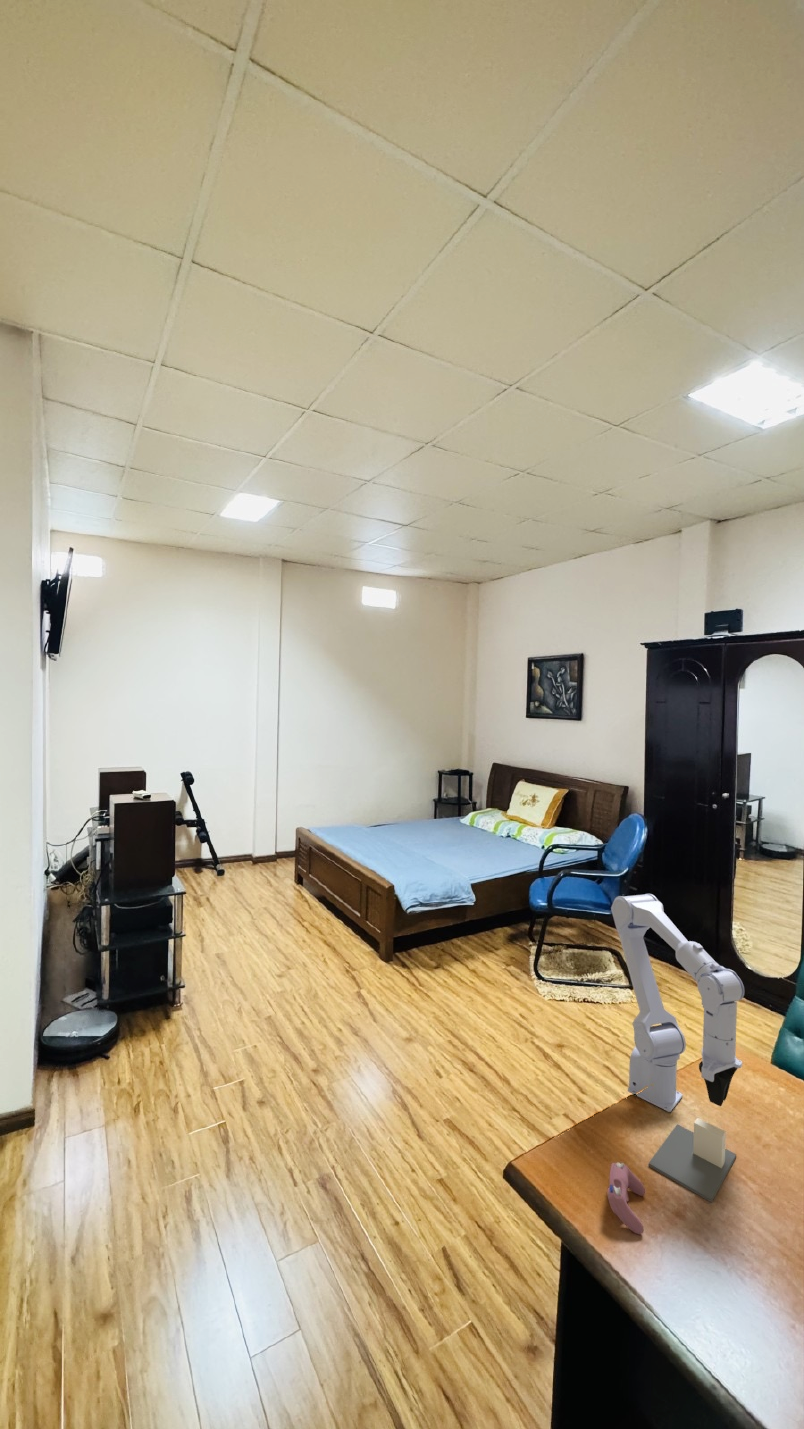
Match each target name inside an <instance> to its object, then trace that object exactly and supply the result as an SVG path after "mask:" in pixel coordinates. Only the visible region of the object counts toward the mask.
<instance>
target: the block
mask: <svg viewBox="0 0 804 1429" xmlns="http://www.w3.org/2000/svg"><path fill="white" fill-rule="evenodd" d="M693 1132H694V1144H693V1153H694V1154H696V1155H698V1156H699V1157H701V1158H703V1159H705V1160H707V1161H709V1162H711V1163H712V1164H714V1165H716V1166H718V1167H720V1168H722V1167H723V1165H724V1163H725V1149H726V1131H725V1130H724V1129H721V1128H719V1127H717V1126H715V1125H713V1124H712V1123H709V1122H707V1121H705V1120H704V1119H701V1118H699V1117H697V1118H696V1119H695V1120H694V1122H693Z"/></svg>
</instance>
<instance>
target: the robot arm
mask: <svg viewBox="0 0 804 1429" xmlns="http://www.w3.org/2000/svg"><path fill="white" fill-rule="evenodd" d="M610 909H611V910H610V911H611V913H612V917H613V921H614V925H615V928H616V931H617V934H618V937H619V941H620V944H621V948H622V951H623V956H624V959H625V962H626V966H627V969H628V973H629V977H630V981H631V984H632V988H633V991H634V996H635V999H636V1003H637V1006H638V1010H639V1013H638V1014H637V1015H636V1017H635V1018H634V1019H633V1021H632V1027H633V1031H634V1035H633V1038H634V1040H633V1041H634V1045H635V1046H634V1047H633V1050H632V1051H631V1054H630V1057H629V1067H628V1068H629V1070H628V1071H629V1072H628V1074H629V1076H628V1087H627V1092H628V1093H630V1094H632V1095H634V1094H636V1093H637V1092H639V1091H640V1090H642V1089H644V1088H645V1087H648V1088H646V1089H644V1090H643V1091H642V1092H640V1093H638V1094H636V1095H637V1096H636V1095H635V1096H636V1097H638V1098H640V1099H642V1100H644V1101H645V1102H648V1103H650V1104H652V1105H654V1106H656V1107H658V1108H660V1109H662V1110H664V1111H665V1112H668V1113H670V1112H672V1110H674V1108H675V1107H676V1106H677V1104H678V1103H679V1102H680V1100H681V1099H682V1098H683V1097H684V1095H683V1093H681V1092H680V1091H678V1090H677V1071H678V1068H677V1067H678V1066H677V1064H678V1061H679V1060H680V1057H681V1056H680V1055H681V1054H683V1053H684V1052H685V1050H686V1047H687V1046H686V1045H687V1043H686V1038H685V1035H684V1033H683V1031H682V1030H681V1028H680V1026H679V1024H678V1021H677V1018H676V1017H675V1015H673V1014H671V1012H669V1011H667V1010H666V1009H665V1007H664V1002H663V1001H662V997H661V994H660V990H659V986H658V984H657V980H656V977H655V974H654V970H653V967H652V963H651V960H650V959H651V958H650V956H649V953H648V949H647V946H646V943H645V939H644V936H645V934H646V932H647V930H649V929H650V928H651V929H652V931H654V932H655V933H656V934H657V935H658V936H659V937H660V938H661V939H663V940H664V942H666V944H668V945H669V946H670V947H671V948H672V949H673V950H674V951H675V959H676V962H678V963H679V964H680V965H681V967H682V968H683V969H684V970H685V971H686V972H687V973H688V974H689V975H690V976H691V977H692V978H693V979H694V981H696V982H695V983H696V985H697V991H698V992H699V995H700V998H701V1005H702V1008H703V1024H702V1025H703V1028H702V1048H701V1059H702V1060H701V1061H700V1062H699V1064H698V1070H699V1072H700V1074H701V1078H702V1079H703V1080H704V1082H705V1086H706V1087H705V1088H706V1092H707V1095H708V1100H709V1102H710V1103H711V1104H714V1105H716V1106H719V1107H721V1106H722V1105H723V1103H724V1101H726V1100H727V1097H728V1094H729V1091H730V1090H729V1089H730V1086H731V1082H732V1079H733V1077H734V1075H735V1073H737V1070H738V1069H741V1068H742V1066H743V1061H742V1060H740V1059H738V1058H737V1056H736V1052H737V1045H736V1044H737V1018H738V1016H737V1014H738V1013H737V1012H738V1001H740V1000H742V999H743V997H744V996H745V986H744V984H743V981H742V979H741V978H740V977H739V976H738V974H737V972H736V971H734V970H732V969H730V968H726V967H724V966H723V965H720V964H719V963H718V962H717V961H715V960H714V958H713V957H712V956H711V955H710V954H709V953H708V952H707V951H706V950H705V949H704V947H703V945H701V944H700V943H698V942H696V941H693V940H692V941H691V940H689V941H688V939H687V938H686V937H685V935H683V933H682V932H681V931H680V930H679V928H677V926H676V925H675V924H674V923H673V921H672V920H671V919H670V917H669V916H667V914H666V913H665V912H664V911H665V910H664V905H663V903H662V902H661V901H660V900H659V899H658V898H657V897H656V896H655V895H654V894H652V893H645V894H636V895H635V894H634V895H627V896H623V895H622V896H621V895H618V896H616V897H615V898H614V900H613V902H612V904H611V907H610ZM652 1084H653V1085H652ZM651 1085H652V1086H651Z"/></svg>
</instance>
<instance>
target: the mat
mask: <svg viewBox="0 0 804 1429" xmlns="http://www.w3.org/2000/svg"><path fill="white" fill-rule="evenodd" d="M693 1144H694V1131H691V1130H690V1129H688V1128H686V1127H684V1126H682V1125H680V1124H678V1123H677V1124H676V1125H675V1126H674V1127H673V1129H672V1131H671V1132H669V1135H668V1136H667V1137H666V1139H665V1140H664V1141H663V1143H662V1144H661V1146H660V1147H659V1149H658V1150H657V1151H655V1154H654V1155H653V1156H652V1158H651V1159H650V1160H649V1161H648V1167H649V1168H651V1169H653V1170H654V1171H656V1172H658V1173H659V1174H661V1175H663V1176H664V1177H666V1178H669V1179H670V1180H671V1181H673V1182H675V1183H676V1184H678V1185H680V1186H682V1187H684V1188H685V1189H687V1190H689V1191H690V1192H692V1193H694V1194H695V1195H697V1196H699V1197H701V1198H703V1199H705V1200H706V1201H708V1202H709V1203H713V1201H714V1199H715V1197H716V1196H717V1194H718V1192H719V1190H720V1189H721V1186H722V1184H723V1182H724V1181H725V1179H726V1177H727V1175H728V1173H729V1172H730V1170H731V1168H732V1166H733V1164H734V1162H735V1160H736V1158H737V1153H734V1152H733V1151H731V1150H729V1149H727V1148H725V1163H724V1165H723V1167H722V1168H720V1167H718V1166H716V1165H714V1164H712V1163H711V1162H709V1161H707V1160H705V1159H703V1158H701V1157H699V1156H698V1155H696V1154H694V1153H693Z"/></svg>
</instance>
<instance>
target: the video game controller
mask: <svg viewBox="0 0 804 1429" xmlns="http://www.w3.org/2000/svg"><path fill="white" fill-rule="evenodd" d="M608 1178H609V1180H608V1181H609V1186H608V1188H607V1192H606V1193H607V1198H608V1203H609V1206H610V1208H611V1210H612V1212H613V1213H614V1214H615V1215H616V1216H617V1217H618V1219H619V1220H620V1221H621V1223H623V1225H625V1226H626V1228H628V1229H629V1230H630V1231H632V1232H633V1233H634V1234H636V1235H642V1234H643V1233H644V1225H643V1223H642V1221H641V1220H640V1219H639V1217H638V1216H637V1214H636V1213H635V1212H634V1211H633V1210H632V1209H631V1207H630V1206H629V1204H628V1202H629V1200H630V1199H629V1193H628V1189H629V1190H630V1191H631V1192H633V1193H634V1194H636V1195H637V1196H639V1197H643V1196H645V1195H646V1188H645V1186H644V1184H643V1183H642V1181H641V1179H639V1178H638V1177H637V1176H636V1174H634V1173H633V1172H632V1171H631V1170H630V1168H629V1166H627V1165H626V1164H625V1163H624V1162H612V1163H610V1171H609V1177H608Z"/></svg>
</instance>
